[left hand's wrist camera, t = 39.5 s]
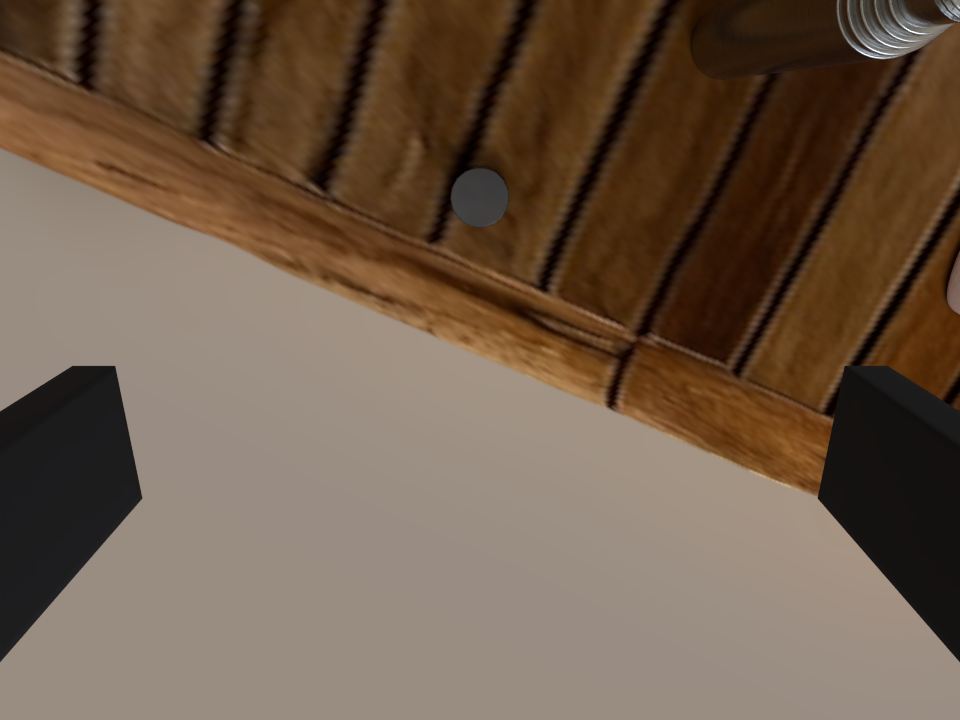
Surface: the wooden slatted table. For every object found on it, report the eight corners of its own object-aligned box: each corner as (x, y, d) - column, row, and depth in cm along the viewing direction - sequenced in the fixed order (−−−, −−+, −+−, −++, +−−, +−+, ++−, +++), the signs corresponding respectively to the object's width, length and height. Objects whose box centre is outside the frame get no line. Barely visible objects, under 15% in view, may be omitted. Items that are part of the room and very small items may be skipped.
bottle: (697, 88, 45) (923, 65, 22) (685, 16, 44) (915, -89, 21) (764, 67, 45) (1066, 23, 22) (754, -6, 43) (1069, -138, 20)
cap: (518, 183, 47) (520, 185, 45) (491, 233, 49) (491, 238, 47) (468, 154, 47) (467, 156, 45) (441, 206, 48) (439, 210, 46)
